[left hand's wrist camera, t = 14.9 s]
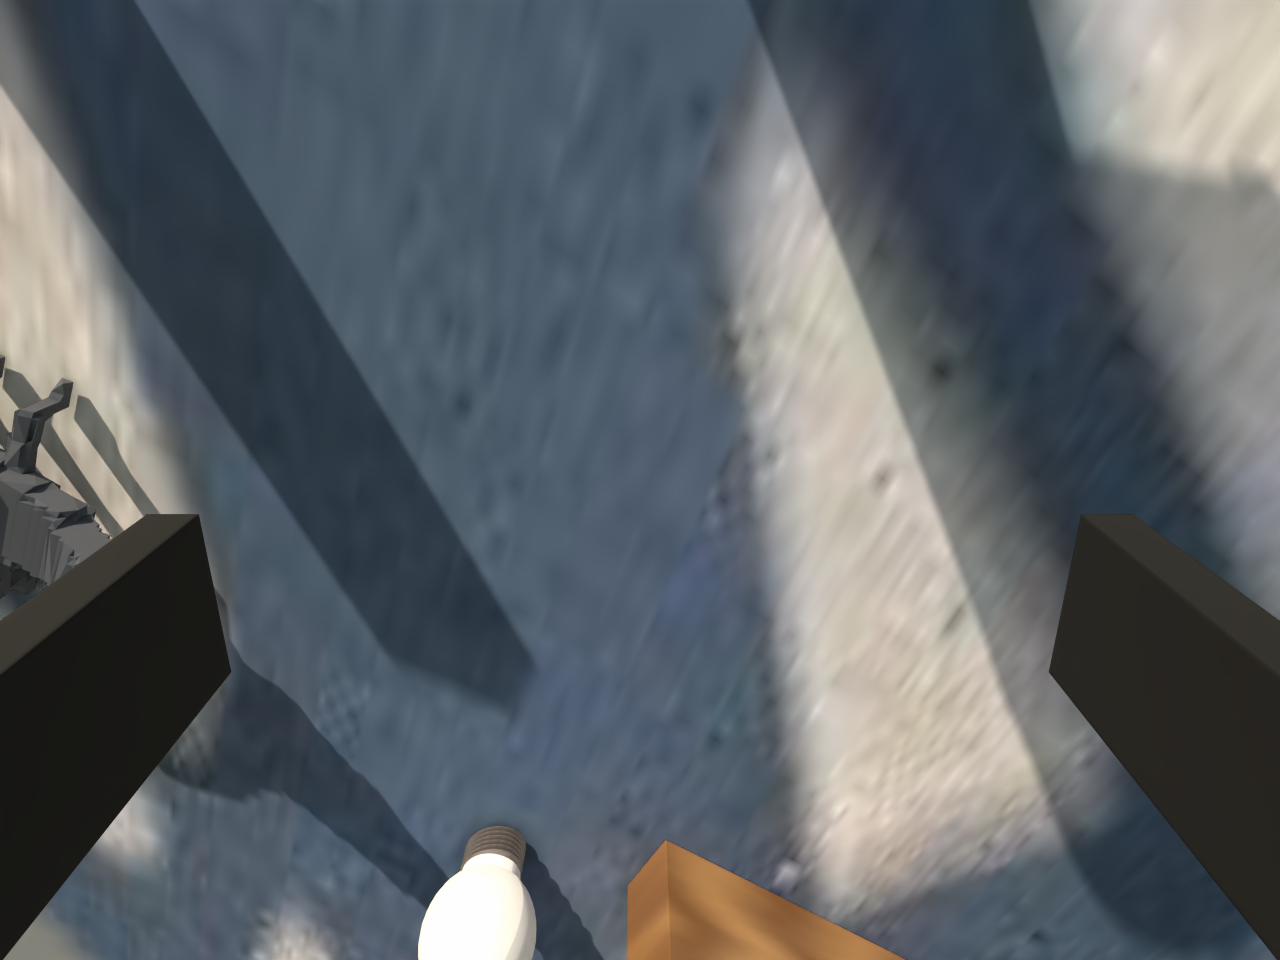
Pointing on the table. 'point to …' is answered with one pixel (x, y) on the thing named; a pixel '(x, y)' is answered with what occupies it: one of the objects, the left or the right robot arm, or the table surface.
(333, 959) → the table surface
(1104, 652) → the left robot arm
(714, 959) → the bar
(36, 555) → the toy
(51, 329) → the table surface
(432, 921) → the light bulb
